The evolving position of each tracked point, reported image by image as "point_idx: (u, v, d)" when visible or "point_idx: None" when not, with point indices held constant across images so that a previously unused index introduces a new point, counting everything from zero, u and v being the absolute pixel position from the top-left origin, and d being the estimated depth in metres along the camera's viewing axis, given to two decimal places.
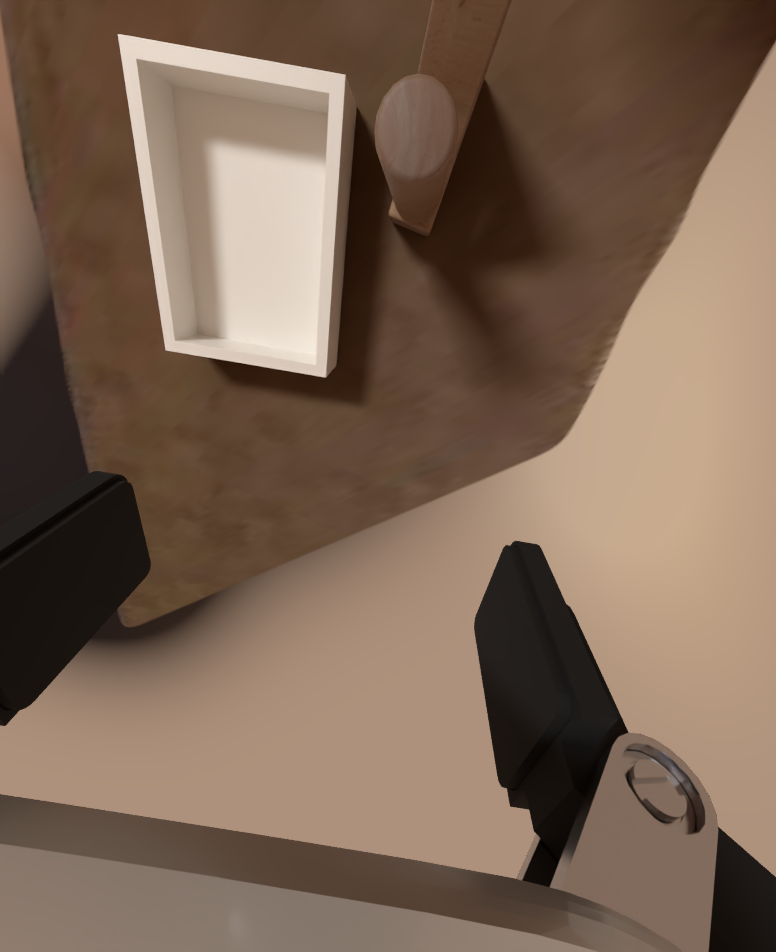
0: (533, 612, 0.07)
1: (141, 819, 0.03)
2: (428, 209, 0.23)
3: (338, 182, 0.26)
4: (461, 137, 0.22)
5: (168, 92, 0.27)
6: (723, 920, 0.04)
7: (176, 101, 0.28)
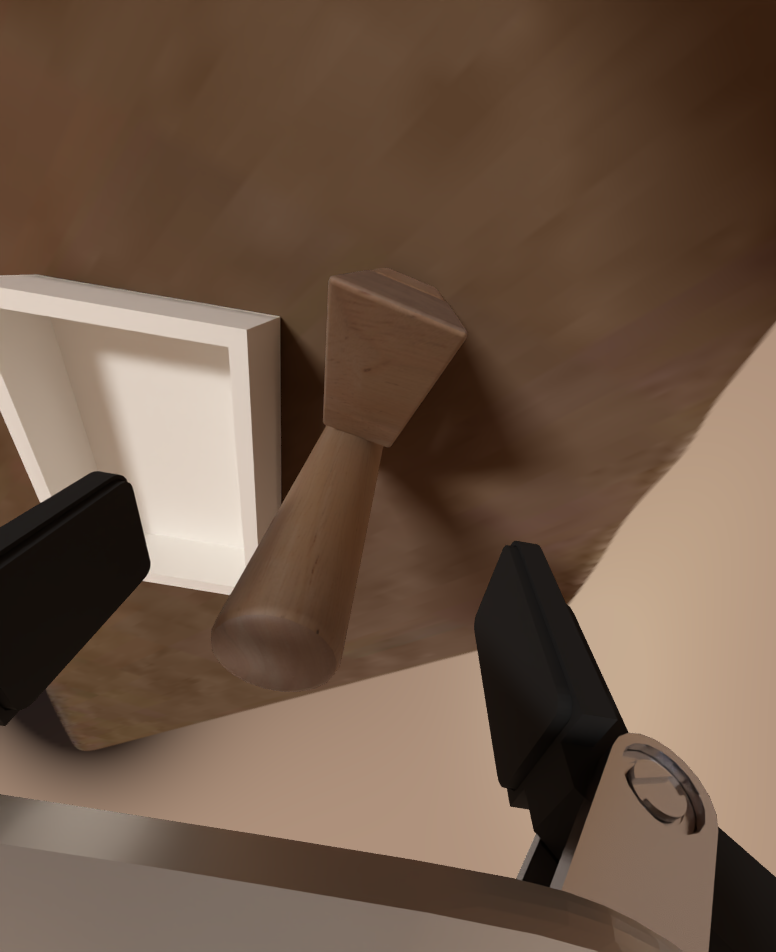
0: (533, 612, 0.07)
1: (141, 819, 0.03)
2: None
3: (252, 431, 0.21)
4: (395, 437, 0.16)
5: None
6: (724, 920, 0.04)
7: None
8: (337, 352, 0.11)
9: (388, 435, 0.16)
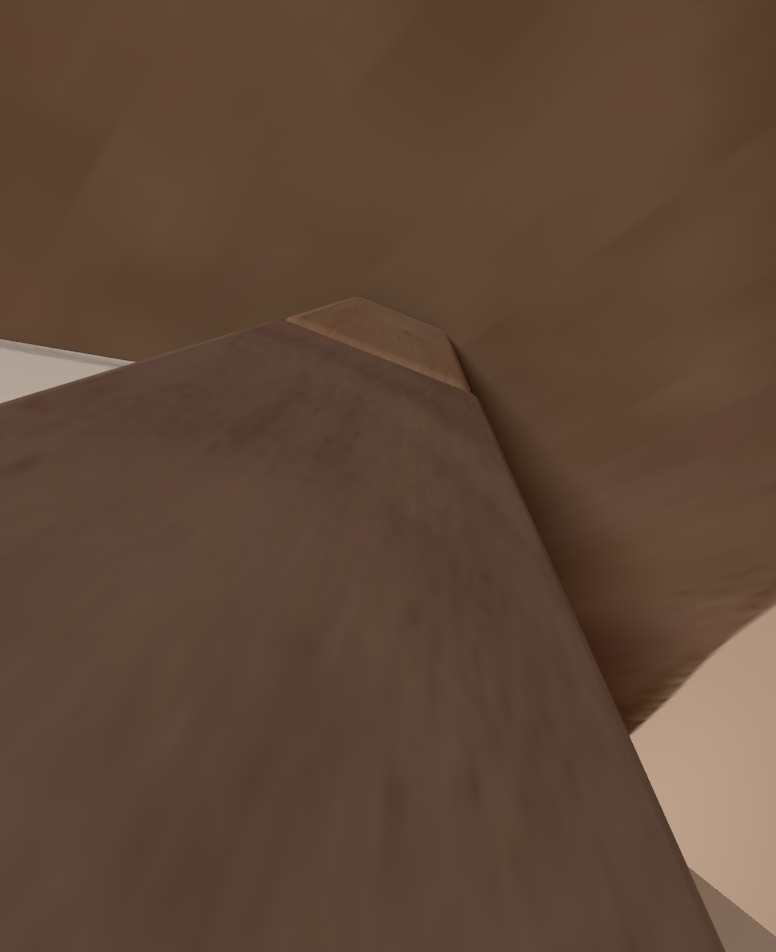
0: None
1: None
2: None
3: None
4: None
5: None
6: None
7: None
8: None
9: None
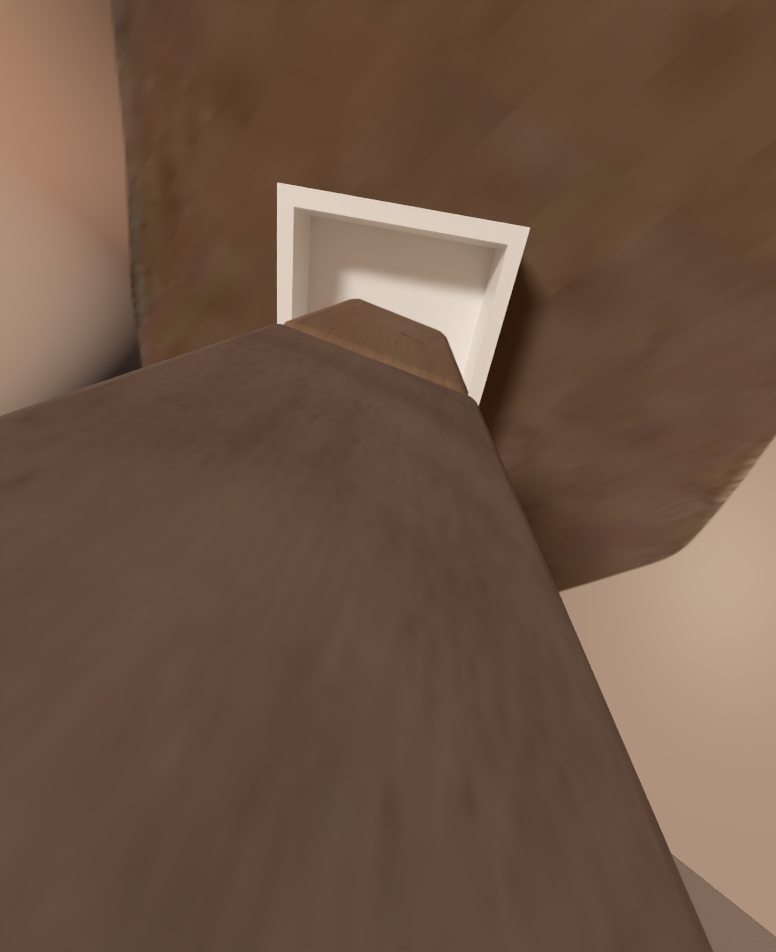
0: None
1: None
2: None
3: (500, 328, 0.24)
4: None
5: (308, 224, 0.25)
6: None
7: (313, 231, 0.25)
8: None
9: None
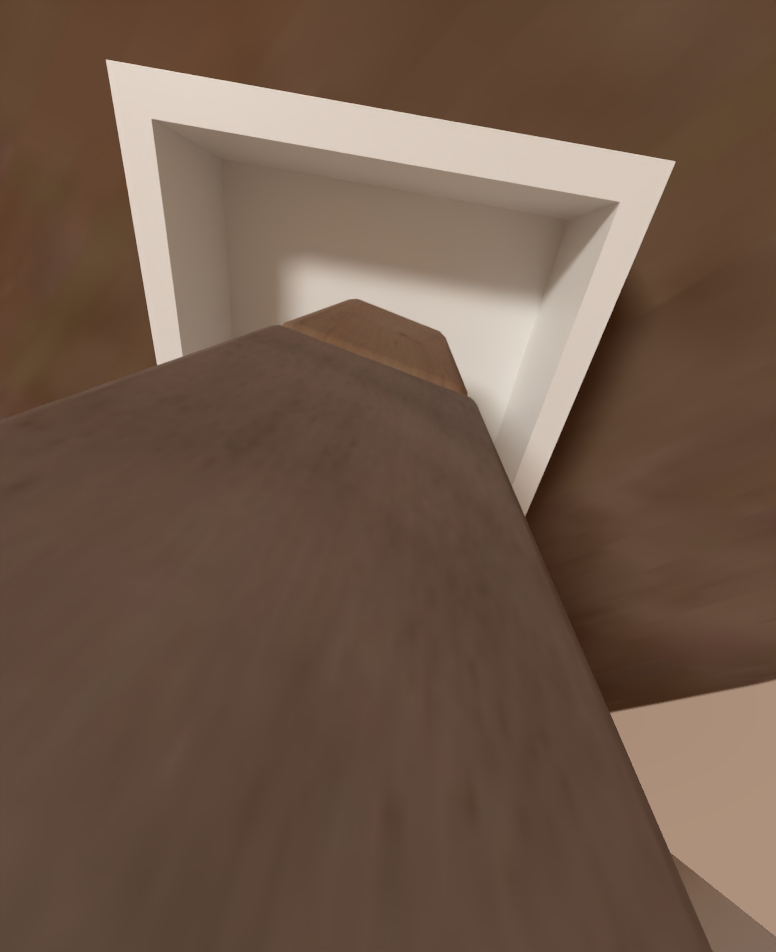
0: None
1: None
2: None
3: (583, 372, 0.12)
4: None
5: (215, 174, 0.13)
6: None
7: (228, 189, 0.14)
8: None
9: None
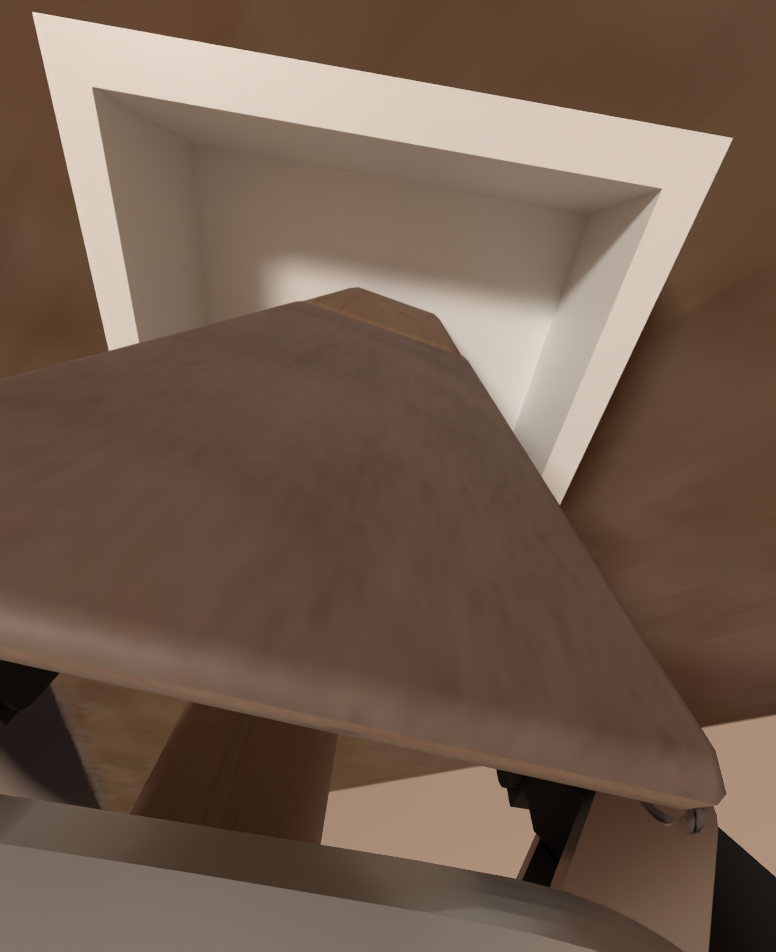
0: None
1: (141, 818, 0.03)
2: None
3: None
4: None
5: (182, 160, 0.11)
6: (723, 921, 0.04)
7: (199, 178, 0.12)
8: None
9: None
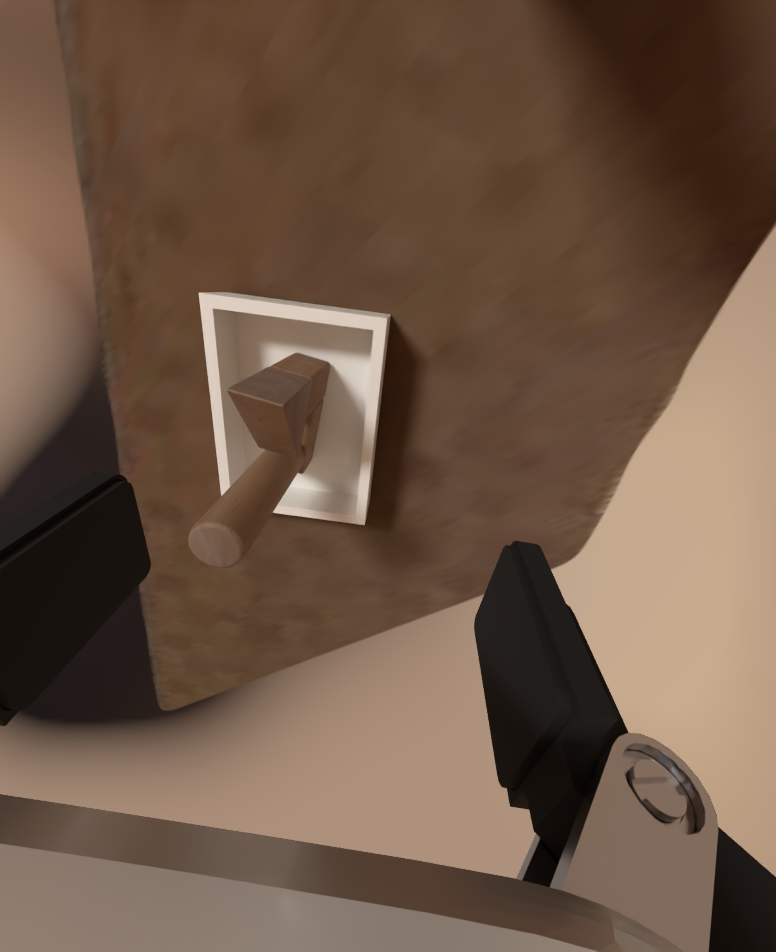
0: (533, 612, 0.07)
1: (141, 819, 0.03)
2: None
3: None
4: (295, 452, 0.29)
5: (232, 313, 0.32)
6: (723, 920, 0.04)
7: (237, 316, 0.33)
8: (243, 413, 0.24)
9: (291, 450, 0.29)
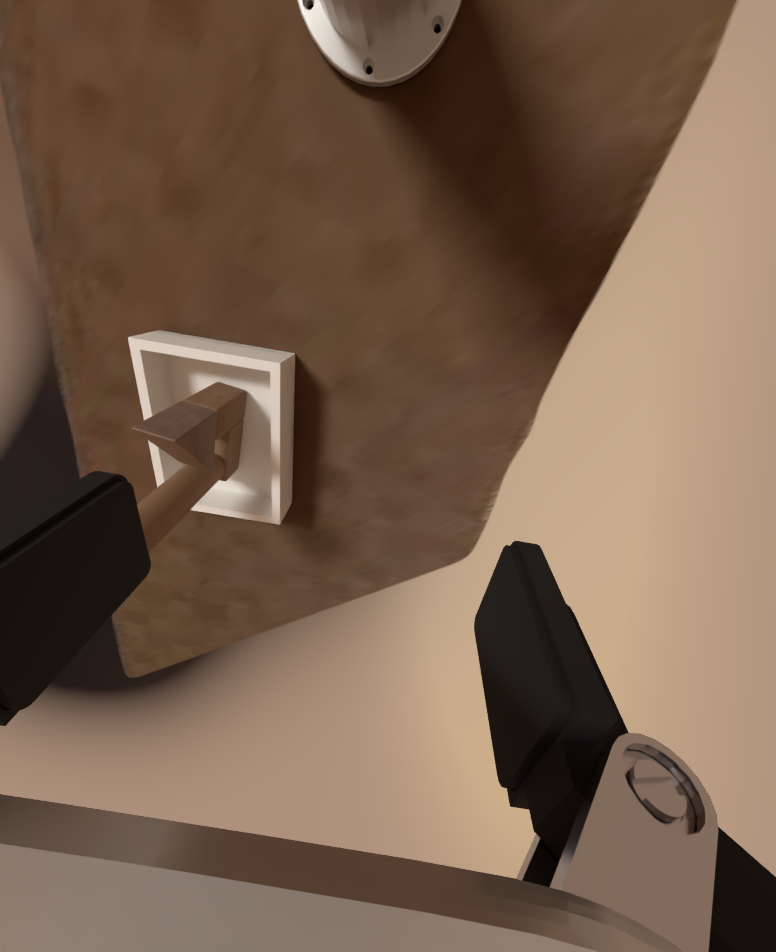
0: (533, 612, 0.07)
1: (142, 819, 0.03)
2: None
3: (280, 416, 0.38)
4: (207, 467, 0.36)
5: None
6: (724, 920, 0.04)
7: None
8: (152, 441, 0.31)
9: (203, 466, 0.36)
